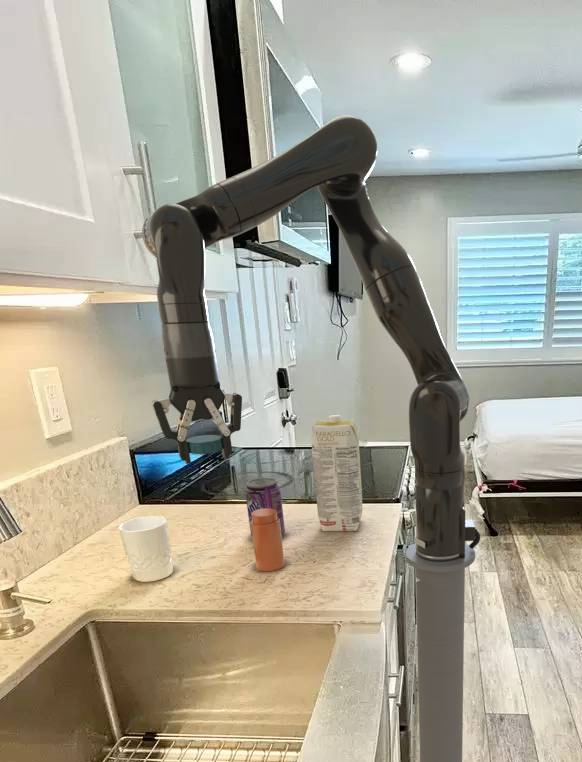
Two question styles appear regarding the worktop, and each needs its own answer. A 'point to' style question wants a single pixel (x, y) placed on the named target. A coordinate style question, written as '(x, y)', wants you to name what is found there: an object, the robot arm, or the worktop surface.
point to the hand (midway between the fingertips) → (207, 459)
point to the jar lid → (205, 444)
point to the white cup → (147, 547)
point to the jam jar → (267, 539)
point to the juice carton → (337, 474)
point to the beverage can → (264, 498)
